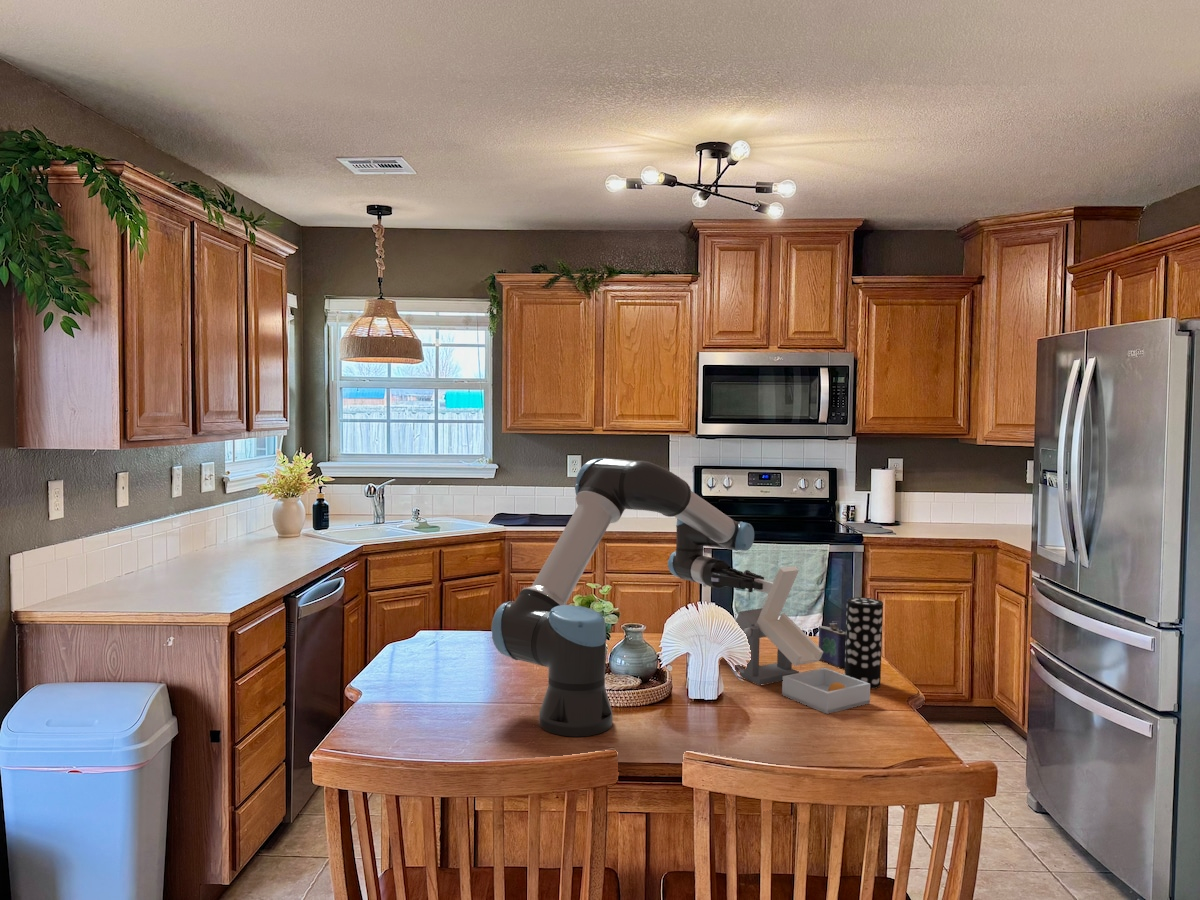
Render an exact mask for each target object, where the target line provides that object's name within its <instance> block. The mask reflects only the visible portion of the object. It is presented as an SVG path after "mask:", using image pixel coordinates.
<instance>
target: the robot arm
mask: <svg viewBox="0 0 1200 900" xmlns="http://www.w3.org/2000/svg"><path fill="white" fill-rule="evenodd" d="M575 482H576V484H575V485H574V490H575V495H576V496H575V501H576V505H577V507H576V508H575V510H574V512H573V513H572V516H571V517H570V519H569V520H568V522H567V523H566V526H565V527H564V529H563V531H562V533H561V534H560V536H559V538H558V539H557V541H556V543H555V545H554V547H553V548H552V550H551V552H550V553H549V556H547V559H546V560H545V562H544V563H543V566H542V567H541V569H540V571H539V572H538V573H537V576H536V577H535V579H534V581H533V582H532V584H531V586H528V587H524V588H522V589H521V590H520V591H519V593H518V595H517V596H516V598H515V600H514V601H513V600H512V601H511V600H510V601H506V602H502V603H501V604H500V605H499V606H498V608H496V610H495V612H494V614H493V617H492V621H491V628H490V629H491V639H492V642H493V645H494V647H495V648H496V650H497V651H498V652H499V653H500V654H501V655H503V656H506V657H507V658H508V657H509V658H511V659H513V660H515V661H522V662H526V663H529V664H530V663H531V664H535V665H538V666H542V667H546V668H548V673H547V674H548V676H547V677H548V684H547V688H546V691H545V693H544V694H545V695H544V697H543V701H542V702H541V703H542V704H541V706H540V709H539V713H538V715H539V716H538V717H539V718H538V725H539V726H540V727H541V729H543V730H544V731H546V732H548V733H551V734H554V735H558V736H564V737H589V736H594V735H598V734H602V733H604V732H606V731H609V729H611V728H612V726H613V721H614V720H613V716H614V714H613V710H612V706H611V703H610V700H609V696H608V693H607V689H606V686H605V685H606V683H605V682H606V679H605V678H606V651H607V650H606V648H607V647H606V646H607V645H606V644H607V637H608V636H607V632H606V621H605V618H604V616H603V615H602V614H601V613H599V612H598V611H597V610H595V609H593V608H589V607H586V606H582V605H576V606H575V605H573V604H572V605H571V604H567V602H569V599H570V597H571V595H572V594H573V592H574V590H575V589H576V586H577V585H578V582H579V580H580V579H581V577H582V576H583V573H584V572H585V570H586V567H587V566H588V564H589V563H590V561H591V559H592V557H593V555H594V553H595V552H596V549H597V547H598V546H599V544H600V542H601V540H602V539H603V536H604V535H605V533H606V531H607V529H608V527H609V526H610V524H615V523H617V522H618V521H619V520H620V519H621V517H622V515H623V513H624V512H625V510H633V511H648V512H652V513H653V512H654V513H659V514H661V515H663V516H665V517H668V518H671V517H672V518H676V525H675V526H676V527H675V528H676V535H675V538H676V539H675V540H676V544H675V545H676V549H675V551H673V552H672V553H671V554H670V556H669V558H668V560H667V567H668V570H669V572H670V573H671V575H673V576H674V577H677V578H680V579H681V580H686V581H688V582H689V581H690V582H694V583H696V584H701V585H702V587H710V588H714V589H717V590H718V589H721V590H722V589H723V588H725V587H727V588H732V589H733V588H734V589H739V590H742V591H743V590H748V593H753V591H758V592H761V593H765V594H769V592H770V589H771V587H772V585H773V582H774V581H770V580H766V579H765V577H764V576H762V575H759V574H758V573H757V574H756V573H754V572H752V571H750V570H749V569H747V570H744V571H741V570H737V569H736V568H733V567H732V568H731V565H730V564H729V563H728V562H727V561H725V560H723V559H720V558H719V559H717V558H715V557H711V556H710V557H709V556H706V555H704V547H709V548H716V549H718V548H719V549H724V550H725V549H727V550H733V551H736V552H737V551H742V552H743V551H744V552H746V551H748V550H750V549H751V548H752V546H753V544H754V540H755V530H754V527H753V525H752V524H751V523H748V522H745V521H744V522H743V521H736V520H734V519H733V518H731V517H730V516H728V515H727V514H726V513H723V512H722V511H721V510H719V509H718V508H717V507H715V506H714V505H712V504H711V503H709V502H708V501H707V500H705V499H704V498H702V497H701V496H699V494H697V493H695V492H693V491H692V489H691V487H690V485H689V483H688V482H687V481H685V480H684V479H683V478H681V477H680V476H678V475H677V474H675V473H673V472H671V471H670V470H668V469H667V468H664V467H662V466H661V465H658V464H655V463H652V462H651V461H647V460H646V461H645V460H635V459H634V460H631V459H618V458H617V459H616V458H609V457H603V458H593V459H590V460H588V461H587V462H586V463H584V464H583V465H582V467H580V469H579V470H578V473H577V475H576V477H575ZM547 595H548V596H547Z"/></svg>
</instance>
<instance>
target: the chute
mask: <svg viewBox="0 0 1200 900" xmlns="http://www.w3.org/2000/svg"><path fill="white" fill-rule="evenodd" d="M799 570H800V569H799V568H798V567H797V566H795V565H793V566H783V567H779V568H778V570H777V572H776V575H775V578H774V580H773V581H772V582H773V585H772V587H771V589H770V592H769V594H768V593H767V594H768V595H767V597H766V600H765V601H764V603H763V606H762V607H761V608H755V609H748V610H740V611H739V612H738V614H737V616H736V619H735V621H736V622H737V623H738V625H739V626H740V628H741V629H742V630H743V631H744V629H745V626H751V625H752V626H755V627H758V628H760V639H761V638H767V639H768V640H769V641H770V642H771V643H772V644H773V645H774V646H775V647H776V648H777V650H778V649H779V650H780V651H781V652H782V653H783V654H784V655H785V656H786V657H787V658H788V660H789V661H790V662H791V663H792V666H794V667H797V666H801V665H802V666H803V665H808V664H811V663H816V662H820V661H819V660H820V658H821V656H822V654H823V651H822V650H821V649H820V648H819V645H817V644H816V643H815V642H814V641H813V640H812V638H810V637H809V636H808V635H807V634H806V633H805V632H804V631H803V630H802V629H801V628H800V627H799V626H798V625H797V624H796V623H795V622H794V621H793V620H792V619H791V618H790V617H789V616H788V615H787V614H786V613H785V612H784V613H782V610H783V609H784V606H785V603H786V602H787V599H788V597H789V594H790V592H791V589H792V587H793V585H794V583H795V580H796V578H797V576H798V573H799V572H800V571H799Z"/></svg>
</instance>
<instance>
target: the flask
mask: <svg viewBox="0 0 1200 900" xmlns="http://www.w3.org/2000/svg"><path fill="white" fill-rule="evenodd" d="M829 625H830V627H829V626H823V625H821V626H818V647H819V648H820V649H821V650H822V651H823V654H822V656H821V658H820V661H819V662H821V661H822V663H825V664H827V663H829V664H828V665H831V664H832V665H834V666H833V667H835V666H836V668H838V667H839V668H838V669H842V668H844V669H845V645H846V631H843V630H842V629H840V630H839V627H838V626H836V625H838V622H832V623H830V622H829ZM832 665H831V666H832Z"/></svg>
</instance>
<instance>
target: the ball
mask: <svg viewBox="0 0 1200 900" xmlns="http://www.w3.org/2000/svg"><path fill="white" fill-rule="evenodd" d="M842 688H846V687H845V686H844V685H843V684H841V683H838V682H836V683H833V684H831V685H830V687H829V689H828V692H829V691H834V690H838V689H842Z"/></svg>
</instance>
